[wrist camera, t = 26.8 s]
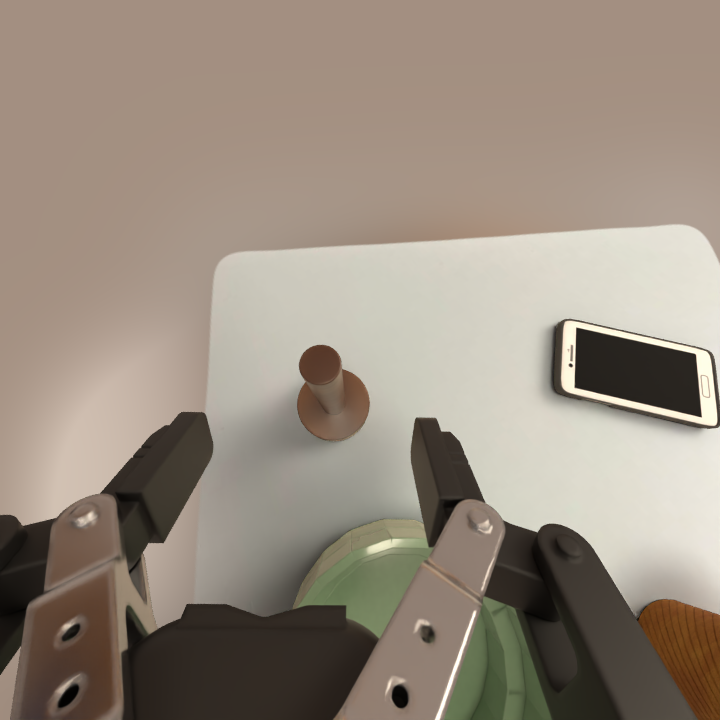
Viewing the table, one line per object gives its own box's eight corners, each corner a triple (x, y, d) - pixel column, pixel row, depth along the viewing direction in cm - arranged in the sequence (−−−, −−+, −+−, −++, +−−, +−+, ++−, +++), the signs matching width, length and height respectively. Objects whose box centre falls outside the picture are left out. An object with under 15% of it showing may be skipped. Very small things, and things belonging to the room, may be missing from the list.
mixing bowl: (320, 828, 20) (306, 1000, 14) (268, 555, 24) (240, 590, 18) (543, 728, 22) (621, 839, 15) (457, 490, 26) (490, 502, 20)
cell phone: (711, 431, 28) (724, 430, 27) (551, 393, 29) (558, 391, 28) (703, 353, 30) (715, 350, 29) (555, 320, 31) (561, 315, 30)
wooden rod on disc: (310, 450, 27) (270, 446, 13) (295, 385, 28) (244, 324, 15) (376, 429, 27) (400, 407, 14) (357, 367, 29) (362, 294, 16)
